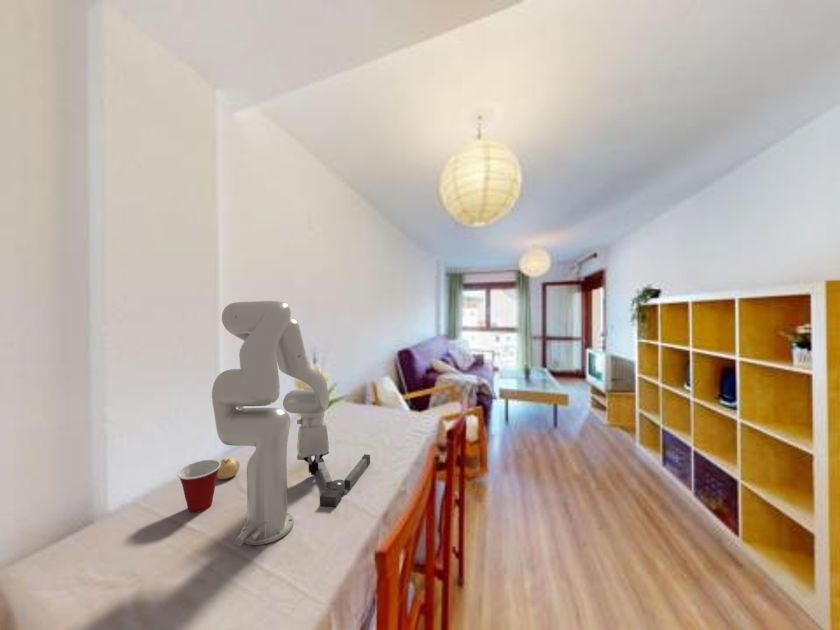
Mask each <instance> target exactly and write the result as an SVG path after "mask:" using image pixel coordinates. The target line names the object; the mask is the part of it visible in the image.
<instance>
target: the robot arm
mask: <svg viewBox="0 0 840 630" xmlns="http://www.w3.org/2000/svg"><path fill="white" fill-rule="evenodd" d="M291 312H292V311H291V309H290V306H289V304H287V303H285V302H283V301H279V300H278V301H277V300H257V301H237V302H236V301H235V302H232V303H229V304H227V305H226V306H225V307H224V309H223V310H222V313H221V322H222V325H223V327H224V328H225V330H227V332H229V333H230V334H231V335H233V336H235V337H237V338H239V339H240V340H242V341H243V343H242V345H241V347H240V349H239V353H238V355H239V356H238V357H239V367H240V368H236V369H235V368H234V369H233V368H232V369H226V370H224V371H222V372H221V373H219V374H218V375H217V376H216V378H215V379H214V382H213V384H212V389H211V390H212V391H211V401H212V407H213V414H214V421H215V427H216V432H217V436H218V439H219V441H220V442H221V443H222V444H223V445H226V446H232V447H239V446H241V447H255V449H254V450H255V451H254V452H253V453H252V455H251V456H250V457H249V459H248V461H247V464H246V498H247V499H246V503H247V505H246V509H247V510H246V511H247V512H246V513H247V517H246V518H247V521H246V522H245V523H244V524H245V525H244V526H243V527H242V528H241V530H240V534H239V535H238V536H237V537H236V538H235V540H234V543H235V545H236V546H239V547H240V546H241V545H243V543H244V544H245V545H246V544H247V545H249V546H261V545H266V544H270V543H273V542H275V541H277V540H279V539H282V538H283V537H285V536H286V535H287V534H288V533H290V531H291V530H292V529H293V527H294V525H295V524H294V523H295V521H294V520H295V518H294V516H293V515H292V514H291V513H288V470H287V469H288V467H287V466H288V465H287V464H288V462H287V461H288V460H287V459H288V457H287V456H288V441H289V433H290V427H291V418H290V415H289V414H288V413H290V414H300V418H299V419H297V420H296V424H297V425H300V426H299V427H298V433H297V447H296V449H297V456H296V460H298V461H305V462H306V463H308V473H309V474H310V475H311V476H314V475H315V476H317V472H318V462H319V460H320V459H321V458H323V457H325V456H327V455H329V454H330V451H329V450H330V449H329V434H328V433H329V432H328V428H327V427H328V426H327V423H326V422H324V421H325V420H324V412H326V410H327V409H328V408H329V405H330V394H329V390H328V383H327V380H326V378H325V376H324V375H323V373H321V372H320V370H319V369H318V368H317V367H316V366H314V365H313V364H312V363H311V362H309V360H308V358H307V354H306V349H305V345H304V341H303V336H302V332H301V328H300V325H299V323H298V321H297V320H295V319H294V318H291V317H292V316H291ZM279 371H280V372H282V373H283V374H285V375H287V376H289V377H291V378H294V379H297V380H299V381H301V382H304V383H305V384H307V385H306V386H303V387H302V388H299V389H293V390H290V391H288V392H287V394H285V396H284V398H283V401H282V406H283V409H284V410H283V409H282V408H278V407H265V406H270V405H273V404H275V402H276V401H278V399H279V398H280V393H281V392H280V391H281V390H280V389H281V388H280V375H279ZM312 457H314V459H312Z"/></svg>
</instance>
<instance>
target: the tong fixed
mask: <svg viewBox="0 0 840 630" xmlns="http://www.w3.org/2000/svg"><path fill="white" fill-rule="evenodd" d="M370 465H371V454H366V453H365V454H363V455H362V457H361V459H360V460H359V461H358V462H357V464H356V465H355V466H354V467H353V469H352V470H351V471H350V472H349V473H348V475H347V476H346V477H345V478H344V479H343V480H344V482H345V491H351V490H352V489H353V488H354V486H355V484H357V482H358V481H359V480H360V478H361V477H362V476H363V474H364V472H365V471H366V470H367V468H369V466H370ZM341 501H342V497H341V490H329V489H326V490H325V489H324V490H323V492H322V493H321V494H319V507H322V508H335V509H336V508H337V507H338V505H339V504H340V503H341Z"/></svg>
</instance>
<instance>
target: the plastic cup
mask: <svg viewBox="0 0 840 630" xmlns="http://www.w3.org/2000/svg"><path fill="white" fill-rule="evenodd" d="M220 461H221V460H220ZM220 461H219V460H218V459H202V460H199V461H195V462H192V463H189V464H186V465H185V466H183V467H181V468H180V469H179V470H178V471H177V475H176V476H177V477H178V478H179V480H180V482H181V483H180V484H181V485H182V489H183V494H184V498H185V499H184V500H185V501H186V504H187V505H186V507H187V509H188V512H190V513H193V514H194V513H201V512H203V511H206V510H207V509H210V508H211V506H212V503H213V500H214V494H215V491H216V484H217V479H218V478H217V475H218V471H219V468H220V466H221V462H220Z"/></svg>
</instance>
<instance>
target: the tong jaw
mask: <svg viewBox="0 0 840 630" xmlns="http://www.w3.org/2000/svg"><path fill="white" fill-rule="evenodd" d="M317 472H318V475H319V476H320V479H321V483H322V485H323V488H324V491H325V490H326V489H329V490H341V498H342V497H344V496H345V494H346V490H345V482H344V480H345V479H335V480H333V479H332V477H331V475H330V472H329V470H328V468H327V465H326V463H325V459H324V458H323V457H322V458H321V459H320V460H319V462H318V471H317Z"/></svg>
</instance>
